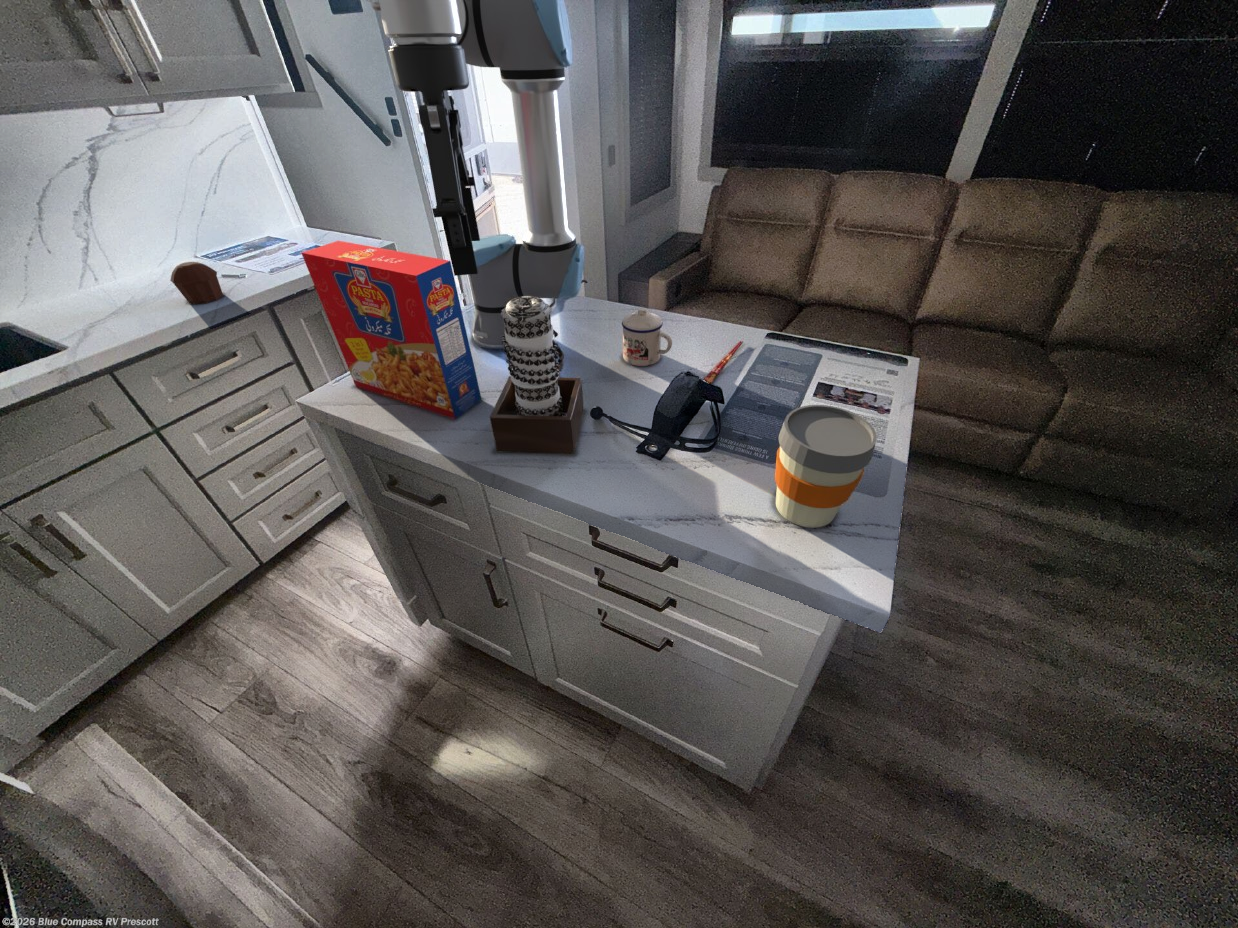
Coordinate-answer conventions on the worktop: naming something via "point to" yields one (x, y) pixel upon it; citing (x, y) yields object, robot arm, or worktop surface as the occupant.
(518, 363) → the patterned vase
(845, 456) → the reusable coffee cup
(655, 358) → the teacup with lid
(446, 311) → the pasta box
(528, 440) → the walnut box
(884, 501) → the worktop surface
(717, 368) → the chopstick
